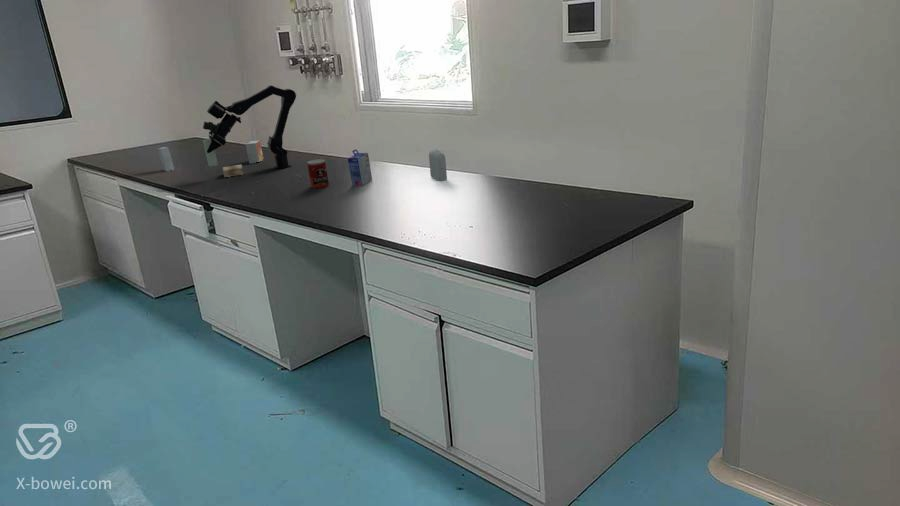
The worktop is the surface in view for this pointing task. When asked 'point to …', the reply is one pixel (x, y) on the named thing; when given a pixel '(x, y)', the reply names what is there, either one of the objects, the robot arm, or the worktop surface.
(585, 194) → the worktop surface
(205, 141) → the sage post
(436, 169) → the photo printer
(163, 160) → the skincare box
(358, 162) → the ink cartridge box
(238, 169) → the oak block
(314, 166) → the canned food
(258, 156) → the small box
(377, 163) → the worktop surface
